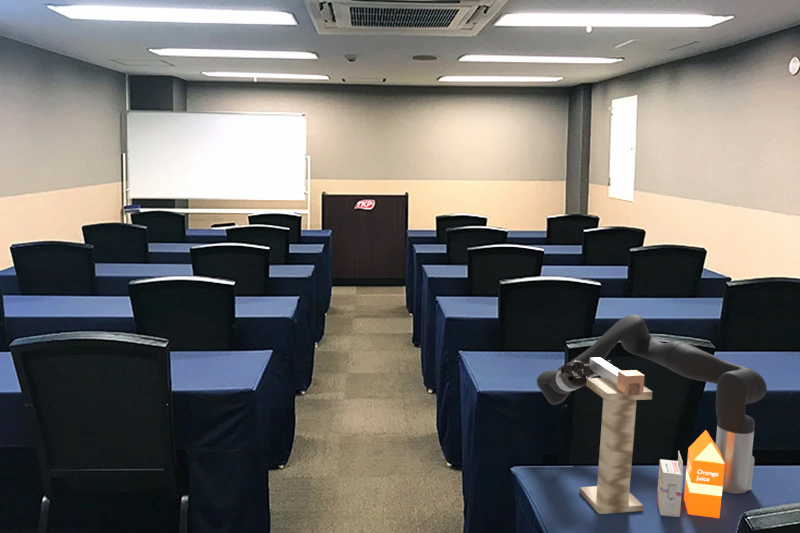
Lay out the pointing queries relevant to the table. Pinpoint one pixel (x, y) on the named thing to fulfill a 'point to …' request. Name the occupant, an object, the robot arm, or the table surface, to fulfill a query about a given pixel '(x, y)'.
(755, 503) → the table surface
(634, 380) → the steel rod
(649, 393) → the birch stand
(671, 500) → the ink cartridge box
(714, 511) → the orange juice
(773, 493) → the table surface
